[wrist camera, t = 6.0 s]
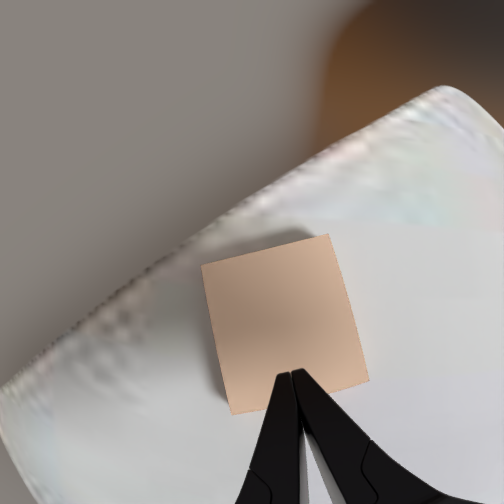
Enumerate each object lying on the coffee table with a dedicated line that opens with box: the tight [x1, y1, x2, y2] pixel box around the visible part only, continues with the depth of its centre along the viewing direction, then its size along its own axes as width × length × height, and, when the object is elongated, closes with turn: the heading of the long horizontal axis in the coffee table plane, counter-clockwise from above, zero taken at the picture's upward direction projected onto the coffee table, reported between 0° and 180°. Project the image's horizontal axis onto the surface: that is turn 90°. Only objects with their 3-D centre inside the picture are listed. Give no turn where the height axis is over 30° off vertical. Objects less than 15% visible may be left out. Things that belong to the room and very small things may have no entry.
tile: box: [201, 234, 369, 415], centre depth 15 cm, size 2×7×8 cm
